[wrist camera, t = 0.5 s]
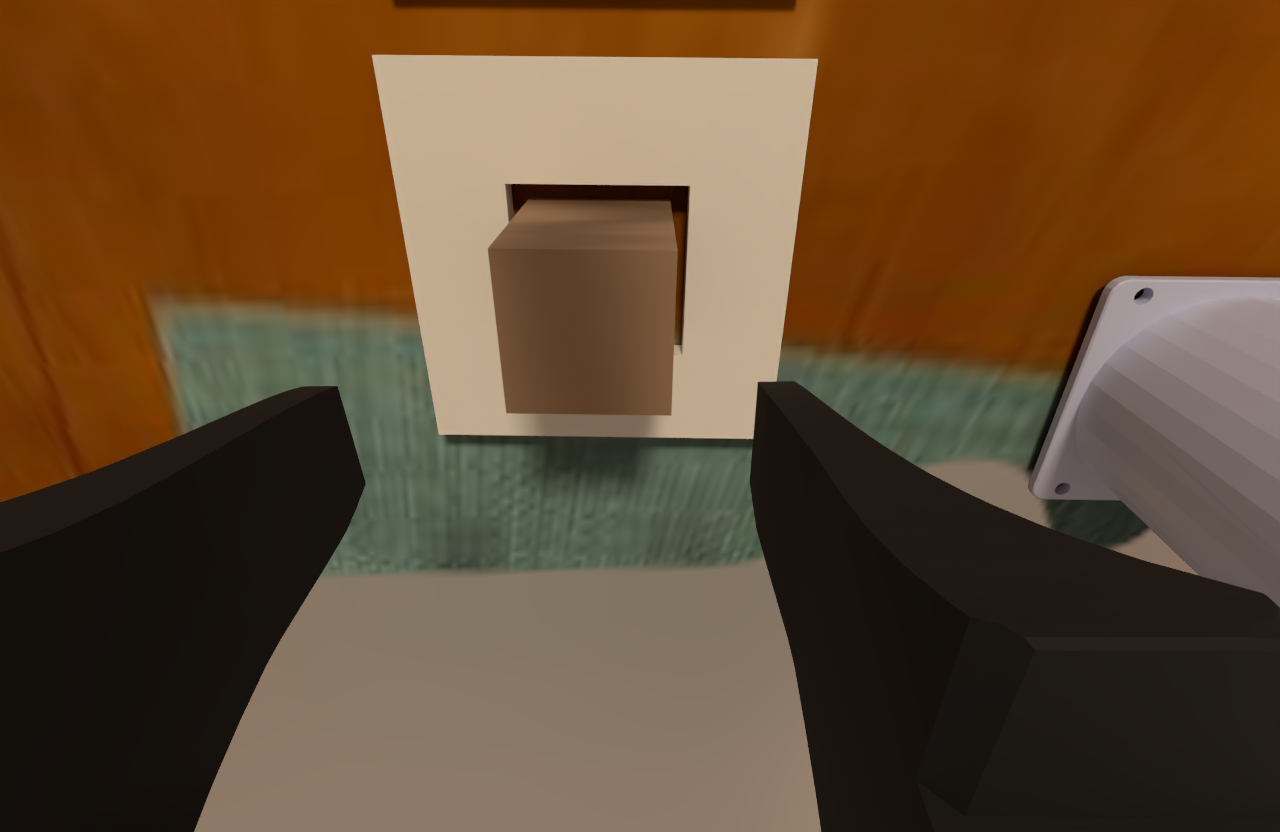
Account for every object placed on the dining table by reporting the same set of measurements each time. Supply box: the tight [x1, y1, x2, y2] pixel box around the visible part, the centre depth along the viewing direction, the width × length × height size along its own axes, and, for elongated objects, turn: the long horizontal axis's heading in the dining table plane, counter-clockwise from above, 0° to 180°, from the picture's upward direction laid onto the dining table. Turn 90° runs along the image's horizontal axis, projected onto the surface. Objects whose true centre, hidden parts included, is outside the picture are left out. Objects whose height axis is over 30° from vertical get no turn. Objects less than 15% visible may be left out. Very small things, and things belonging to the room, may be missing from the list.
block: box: [488, 197, 678, 416], centre depth 17 cm, size 4×4×6 cm
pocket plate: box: [372, 55, 818, 439], centre depth 19 cm, size 11×11×1 cm
